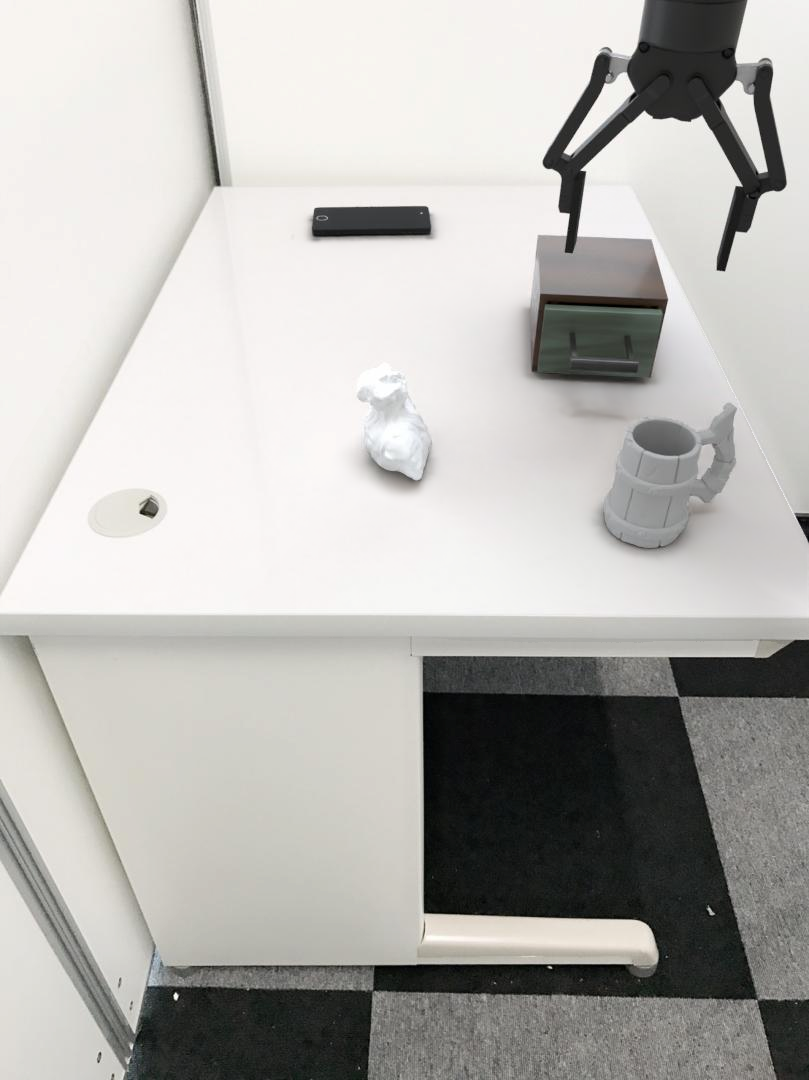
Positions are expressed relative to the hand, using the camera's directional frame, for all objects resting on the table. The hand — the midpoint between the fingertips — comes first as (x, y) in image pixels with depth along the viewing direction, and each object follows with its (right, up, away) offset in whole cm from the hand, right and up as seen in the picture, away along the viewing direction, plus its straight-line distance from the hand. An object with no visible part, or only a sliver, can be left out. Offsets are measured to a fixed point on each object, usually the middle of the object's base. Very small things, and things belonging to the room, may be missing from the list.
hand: (644, 256), depth 78 cm
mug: (+2, -24, +2) cm, 25 cm away
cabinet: (0, -2, +27) cm, 27 cm away
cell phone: (-27, +23, +53) cm, 64 cm away
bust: (-23, -18, +9) cm, 31 cm away
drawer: (0, -5, +22) cm, 22 cm away
